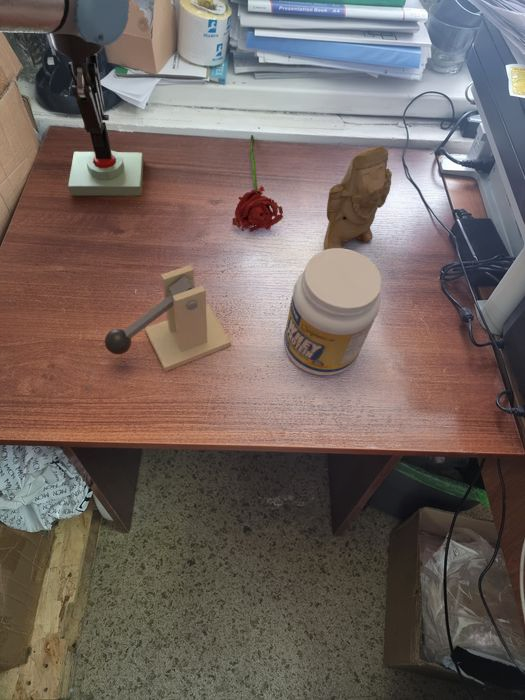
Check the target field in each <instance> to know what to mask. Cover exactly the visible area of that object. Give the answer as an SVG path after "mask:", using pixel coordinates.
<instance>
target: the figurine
mask: <svg viewBox="0 0 525 700" xmlns="http://www.w3.org/2000/svg"><path fill="white" fill-rule="evenodd" d="M388 160H389V151H388V149H386V148H385V147H384V146H382V145H379V146H375V147H371V148H366V149H363V150H362V151H360V152H359V153H357V154H356V155H354V157H353V158H352V159H351V160H350V161H351V162H350V163H349V165H348V167H347V169H346V173H345V175H344V176H343V178H342V180H341V181H340V183H337V184H335V185H333V186H332V187H331V188H330V189H329V192H328V198H327V206H326V219H327V221H328V224H327V228H326V232H325V234H324V235H325V236H324V240H323V250H327V249H332V248H342V249H343V245H342V244H344V243H347V242H349V241H351V240H352V239H359V240H361V241H362V242H364V243H369V242H371V241H372V240H373V237H374V236H373V233H372V229H371V226H372V225H373V223H374V221H375V217H376V213H377V211H378V209H379V208H382V207H383V206H384V205H385V204H386V200H387V198H388V195H389V194H390V191H391V185H392V176H393V172H392V171H391V170H390V169H389V168H387V166H388Z"/></svg>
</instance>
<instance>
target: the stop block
mask: <svg viewBox="0 0 525 700" xmlns="http://www.w3.org/2000/svg"><path fill="white" fill-rule="evenodd" d="M111 153H112V154H113V156H114V160H115V164H114V165H113V166H111V167H108V168H99V167H97V166H96V165H95V161H94V156H95V152H94V151H73V156H72V161H71V168H70V171H69V172H70V173H69V178H68V184H67V188H68V191H69V194H70V196H76V197H77V196H79V197H81V196H83V197H85V196H90V197H92V196H95V197H99V196H101V197H102V196H107V197H108V196H109V197H110V196H113V197H114V196H115V197H121V196H122V197H123V196H124V197H125V196H128V197H129V196H130V197H131V196H134V197H135V196H138V197H141V196H142V194H143V179H144V178H143V177H144V156H143V155H144V154H143V152H142V151H141V152H140V151H139V152H137V151H136V152H133V151H131V152H129V151H126V152H125V151H121V152H120V151H114V150H112V149H111Z"/></svg>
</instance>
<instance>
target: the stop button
mask: <svg viewBox="0 0 525 700" xmlns="http://www.w3.org/2000/svg"><path fill="white" fill-rule="evenodd" d="M94 161H95V165H96V166H97V167H99V168H108V167H111V166H113V165H114V164H115V160H114V156H113V154H112V156H111V159H96V156H94Z"/></svg>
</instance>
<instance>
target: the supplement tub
mask: <svg viewBox="0 0 525 700" xmlns="http://www.w3.org/2000/svg"><path fill="white" fill-rule="evenodd" d="M381 288H382V277H381V273H380V272H379V270H378V267H377V266H376V265H375V264H374V263H373V262H372V261H371V259H369V258H368V257H366V256H365V255H363V254H362V253H359V252H358V251H354V250H352V249H347V248H343V247H342V248H332V249H327V250H324V249H322V250H321V251H319V252H317V253H315V254H314V255H312V257H310V258H309V260H308V261H307V263H306V265H305V267H304V270H303V271H302V272H301V273H300V275H299V276H298V277H297V279H296V281H295V283H294V286H293V290H292V296H291V300H290V305H289V311H288V314H287V319H286V324H285V329H284V333H283V342H284V343H283V344H284V347H285V350H286V353H287V355H288V357H289V358H290V360H291V361H292V363H293V364H294V365H296V366H297V368H299V369H301V370H303V371H305V372H307V373H310V374H313V375H317V376H318V375H319V376H332V375H333V376H334V375H335V374H336V375H337V374H340V373H342V372H344V371H346V370H348V368H350V367H351V366H352V365H353V364H354V363H355V362H356V361H357V359H358V358H359V355H360V352H361V350H362V348H363V346H364V344H365V341H366V339H367V336H368V335H369V333H370V330H371V328H372V325H373V324H374V322H375V319H376V317H378V315H379V314H378V313H379V311H380V307H381V294H380V293H381V292H380V291H381Z"/></svg>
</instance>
